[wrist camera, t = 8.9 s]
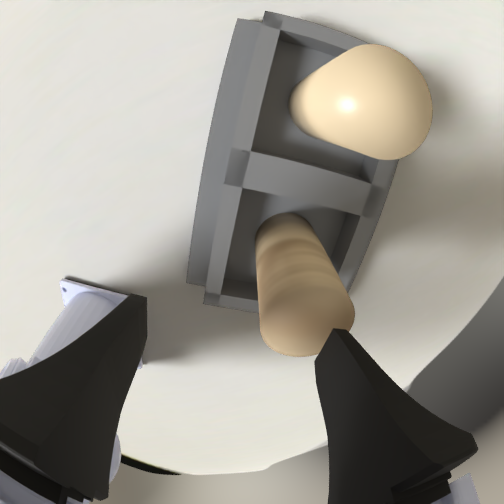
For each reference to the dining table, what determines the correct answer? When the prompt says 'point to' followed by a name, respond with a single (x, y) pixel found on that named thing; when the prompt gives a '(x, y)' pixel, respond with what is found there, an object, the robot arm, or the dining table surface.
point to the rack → (300, 147)
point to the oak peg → (297, 288)
